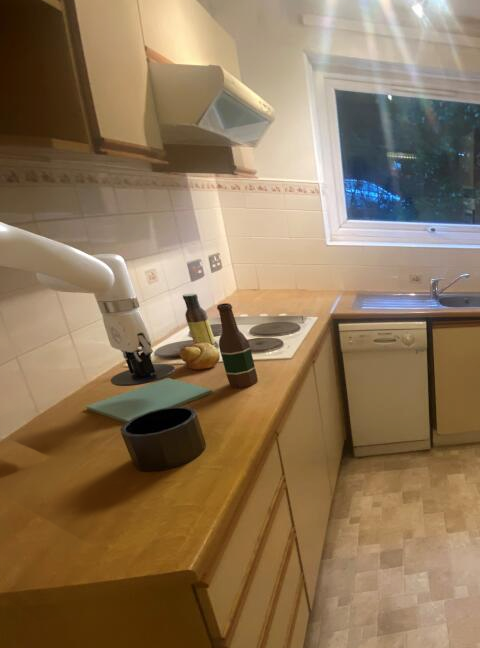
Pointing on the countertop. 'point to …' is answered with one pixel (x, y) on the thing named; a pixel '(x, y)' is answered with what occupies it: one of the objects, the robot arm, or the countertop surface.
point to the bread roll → (200, 356)
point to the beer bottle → (235, 351)
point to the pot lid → (136, 378)
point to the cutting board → (149, 399)
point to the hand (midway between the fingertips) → (142, 372)
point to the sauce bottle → (198, 321)
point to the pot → (163, 438)
